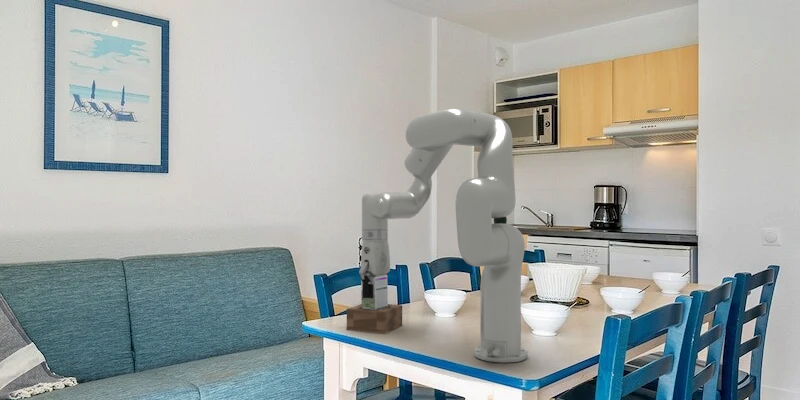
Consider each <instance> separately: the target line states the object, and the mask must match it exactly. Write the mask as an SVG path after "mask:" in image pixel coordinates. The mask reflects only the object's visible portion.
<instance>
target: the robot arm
mask: <svg viewBox="0 0 800 400" xmlns="http://www.w3.org/2000/svg"><path fill="white" fill-rule="evenodd" d="M405 140H406V143H407V144H408V146H410V147H411V148H412V149H411V150H410V151H409V153H408V154H407V156H406V157H405V158H404V167H405V169H406V170H407V172H408V173H409V174H410V175H411V176H413V178H414V181H413V182H412V183H411V185H410V187H409V188H408V190H407V191H406V192H403V191H402V192H401V191H399V192H397V191H395V192H394V191H393V192H380V193H375V192H373V193H372V192H371V193H365V194H363V195H362V196H361V241H362V243H361V255H360V256H361V259H360V269H359V271H358V273H359V276H360V281H361V280H362V290H363V298H373V284H372V281H373V277H374V275H375V276H378V275H387V280H388V279H389V278H388V275H389V272H390V271H391V256H390V246H389V240H388V239H389V237H388V236H389V235H388V232H389V229H388V227H389V226H388V225H389V224H388V223H389V220H397V219H398V220H399V219H411V218H413V217H416V215H418V214H419V213H420V212H421V210H422V209H423V208H424V206H425V205H426V203H427V202H428V201H429V199H430V196H431V192H432V188H433V187H432V186H433V181H432V180H433V179H432V176H433V174H435V172H436V171H437V169H438V167H440V164H441V163H442V162H443V160H444V159H445V158H446V156H447V155H448V153H449V152H450V150H451V149H452V148H453V146H454V145H455V146H456V145H459V146H469V147H480V151H479V154H478V157H477V161H476V162H477V177H472V178H471V177H470V178H469V179H466V180H465V181H464V182H462V183H461V185H460V186H459V187H458V190H457V193H456V196H455V202H454V203H455V205H454V206H455V219H456V221H455V222H456V233H457V245H458V251H459V254H460V256H461V258H462V260H464V262H465V263H466V264H467V265H470V266H472V267H483V269H482V273H481V275H480V276H481V277H480V291H479V292H480V295H479V296H480V303H479V304H480V310H479V312H480V315H479V316H480V319H479V320H480V322H479V323H480V342H479V343H480V346H478V347H475V348H474V349H473V355H474V357H475V358H477V359H479V360H482V361H484V362H485V361H487V362H490V363H491V362H492V363H502V364H503V363H506V364H507V363H517V362H518V363H519V362H523V361H525V360H526V359H528V351H527V350H526V349H523V348H522V340H521V339H522V336H521V335H522V334H521V333H522V323H521V322H522V317H521V316H522V314H521V313H522V311H521V310H522V307H521V306H522V304H521V303H522V300H521V299H522V296H521V294H522V271H523V270H522V267H523V263H524V256H525V247H526V245H525V238H524V236H523V234H522V232H521V231H520V229H518V228H517V227H516V226H514V225H512V224H509V223H507V224H494V223H493V222H492V221H493V220H492V219H494V218H501V217H505V216H506V217H507V216H509V215H511V214H512V213H513V211H514V210H515V207H516V186H515V185H516V184H515V173H514V172H515V171H514V162H513V161H514V160H513V134H512V130H511V127H510V126H509V124H508V123H507V122H506V121H505V120H504V119H503V118H501V117H499V116H497V115H494V114H490V113H486V112H480V111H475V110H474V111H473V110H467V109H462V108H461V109H460V108H449V109H443V110H439V111H435V112H431V113H426V114H422V115H419V116H418V115H417V116H416V117H415V118H413V119H412V120H411V121H410V122H409V123H408V126H406V129H405ZM368 277H370V278H368Z"/></svg>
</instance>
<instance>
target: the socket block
mask: <svg viewBox="0 0 800 400" xmlns="http://www.w3.org/2000/svg"><path fill="white" fill-rule="evenodd" d="M402 326H403V305H401V304H393V303H388V308H385V309H382V310H372V309H362V303H361V304H357V305H354V306H351V307H348V308H346V330H347V331H354V332H356V331H357V332H366V333H371V334H383V335H385V334H386V333H389V332H391V331H393V330H395V328H396V329H398V328H400V327H402Z"/></svg>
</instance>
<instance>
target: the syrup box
mask: <svg viewBox="0 0 800 400" xmlns="http://www.w3.org/2000/svg"><path fill="white" fill-rule="evenodd" d="M387 277H388V275H378V276H375V275H374V277H373V281H372V284H373V298H363V290H362V280H361V279H360V283H361V285H360V289H361V290H360V291H361V292H360V293H361V298H360V299H361V304H362V309H372V310H382V309H385V308H388V304H389V303H388V299H389V297H388V293H389V291H388V287H389V286H388V279H387ZM368 278H370V277H368Z"/></svg>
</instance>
